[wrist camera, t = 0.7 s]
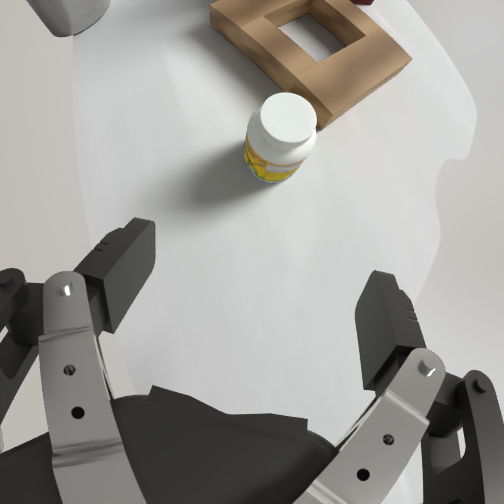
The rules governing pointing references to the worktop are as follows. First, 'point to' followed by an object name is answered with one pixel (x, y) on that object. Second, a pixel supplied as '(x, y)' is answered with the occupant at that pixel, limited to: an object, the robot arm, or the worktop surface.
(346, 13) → the sleeve block
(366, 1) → the toy vending machine
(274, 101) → the supplement bottle
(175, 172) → the worktop surface
